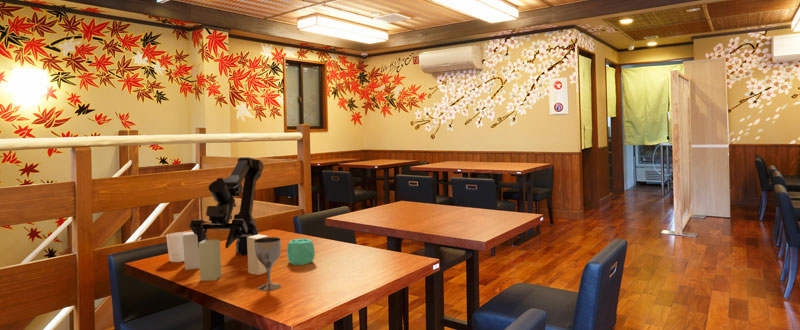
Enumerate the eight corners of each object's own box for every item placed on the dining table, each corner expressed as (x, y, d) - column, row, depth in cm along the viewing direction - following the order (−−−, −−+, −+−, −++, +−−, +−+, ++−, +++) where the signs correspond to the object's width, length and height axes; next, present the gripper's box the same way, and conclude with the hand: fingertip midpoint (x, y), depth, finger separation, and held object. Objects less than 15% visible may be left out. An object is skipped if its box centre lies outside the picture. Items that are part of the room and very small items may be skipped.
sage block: (206, 275, 169) (205, 239, 168) (221, 275, 169) (219, 239, 168) (200, 280, 164) (198, 243, 163) (215, 280, 164) (213, 242, 163)
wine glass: (258, 283, 160) (256, 237, 158) (284, 282, 160) (282, 236, 159) (253, 291, 152) (251, 243, 150) (280, 290, 152) (278, 242, 151)
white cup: (181, 263, 186) (180, 236, 185) (163, 262, 187) (161, 236, 187) (194, 257, 194) (193, 232, 193) (176, 257, 195) (175, 231, 194)
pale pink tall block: (199, 264, 183) (198, 231, 182) (200, 268, 179) (198, 233, 178) (184, 266, 181) (183, 232, 180) (184, 269, 177) (183, 235, 176)
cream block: (259, 269, 176) (258, 234, 175) (269, 271, 173) (268, 235, 172) (248, 273, 172) (246, 237, 171) (258, 275, 169) (257, 238, 168)
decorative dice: (315, 263, 183) (314, 241, 182) (293, 266, 179) (293, 244, 178) (308, 258, 190) (307, 237, 189) (287, 261, 186) (286, 240, 185)
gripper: (190, 196, 173) (176, 234, 162) (243, 195, 172) (233, 234, 162) (201, 215, 181) (188, 252, 171) (252, 214, 180) (242, 252, 170)
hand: (212, 247), depth 168 cm, fingers open, 9 cm apart
